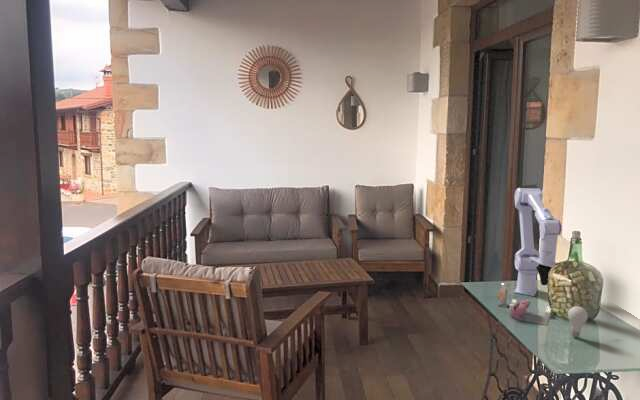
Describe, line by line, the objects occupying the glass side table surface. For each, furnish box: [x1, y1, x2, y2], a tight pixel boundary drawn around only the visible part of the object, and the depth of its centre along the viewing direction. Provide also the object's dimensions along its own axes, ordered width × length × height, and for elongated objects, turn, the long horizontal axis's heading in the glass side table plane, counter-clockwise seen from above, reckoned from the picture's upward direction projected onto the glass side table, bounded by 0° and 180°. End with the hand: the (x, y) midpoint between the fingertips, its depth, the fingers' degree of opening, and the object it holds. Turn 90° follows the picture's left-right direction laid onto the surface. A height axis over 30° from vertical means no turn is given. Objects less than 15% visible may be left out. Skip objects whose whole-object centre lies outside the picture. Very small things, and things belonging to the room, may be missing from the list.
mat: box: [511, 312, 550, 326], centre depth 193 cm, size 8×12×1 cm, turn 61°
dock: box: [498, 289, 552, 318], centre depth 201 cm, size 7×19×7 cm, turn 61°
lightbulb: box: [567, 306, 589, 339], centre depth 177 cm, size 6×6×11 cm
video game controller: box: [509, 299, 531, 318], centre depth 195 cm, size 10×5×7 cm, turn 148°
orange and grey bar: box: [497, 281, 510, 299], centre depth 199 cm, size 13×3×2 cm, turn 154°
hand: (544, 284), depth 202 cm, fingers closed
